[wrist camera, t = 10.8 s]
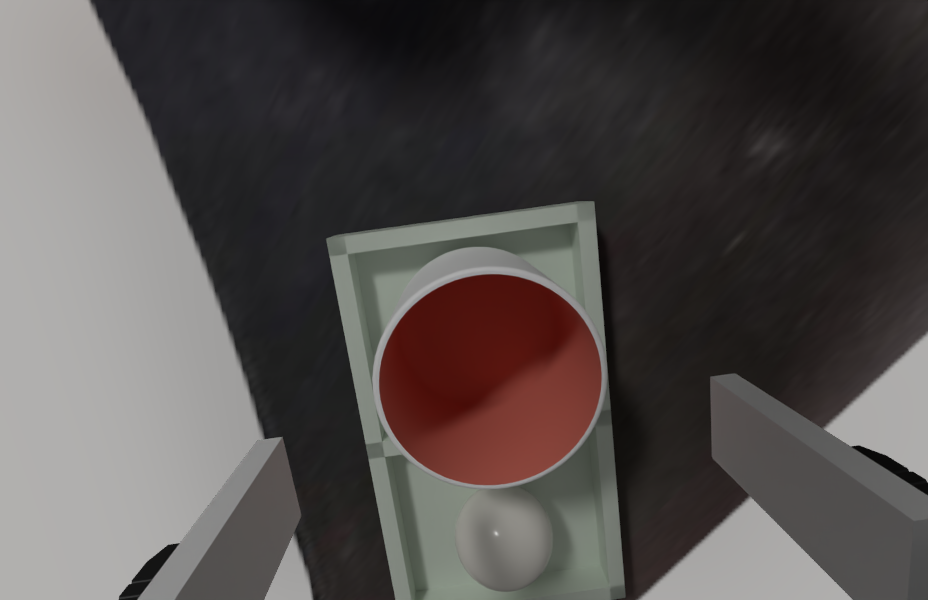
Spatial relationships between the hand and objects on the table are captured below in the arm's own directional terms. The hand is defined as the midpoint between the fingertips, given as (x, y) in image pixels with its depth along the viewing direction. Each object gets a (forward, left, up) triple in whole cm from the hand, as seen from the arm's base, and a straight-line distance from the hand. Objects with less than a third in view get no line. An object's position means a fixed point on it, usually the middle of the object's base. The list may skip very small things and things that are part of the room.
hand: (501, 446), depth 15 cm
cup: (0, 0, -16) cm, 16 cm away
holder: (+7, 0, -17) cm, 18 cm away
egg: (+13, 0, -16) cm, 20 cm away
